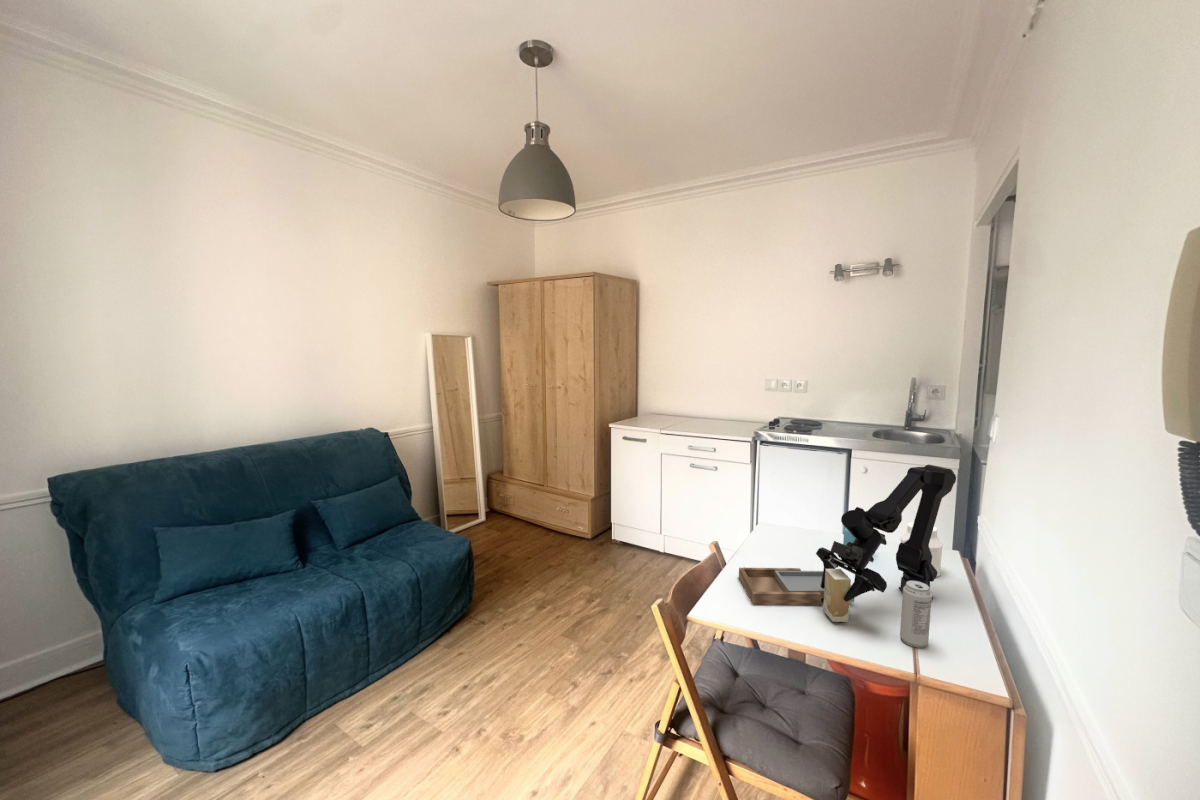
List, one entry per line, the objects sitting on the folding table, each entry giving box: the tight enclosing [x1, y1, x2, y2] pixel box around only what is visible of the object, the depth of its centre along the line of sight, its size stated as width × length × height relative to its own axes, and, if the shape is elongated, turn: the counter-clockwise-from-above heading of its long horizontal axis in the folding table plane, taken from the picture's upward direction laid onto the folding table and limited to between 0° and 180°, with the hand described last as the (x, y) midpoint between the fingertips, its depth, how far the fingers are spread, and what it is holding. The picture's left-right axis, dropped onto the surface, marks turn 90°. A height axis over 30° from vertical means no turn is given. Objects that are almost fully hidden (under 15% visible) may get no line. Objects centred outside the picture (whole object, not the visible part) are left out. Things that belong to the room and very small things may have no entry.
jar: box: [900, 521, 944, 577], centre depth 160 cm, size 12×10×15 cm
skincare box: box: [822, 568, 852, 623], centre depth 131 cm, size 6×4×12 cm
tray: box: [774, 570, 855, 603], centre depth 147 cm, size 18×16×4 cm
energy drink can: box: [899, 581, 933, 649], centre depth 121 cm, size 6×6×15 cm
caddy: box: [738, 567, 822, 607], centre depth 147 cm, size 19×16×4 cm
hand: (832, 594), depth 131 cm, fingers closed on skincare box, 7 cm apart
